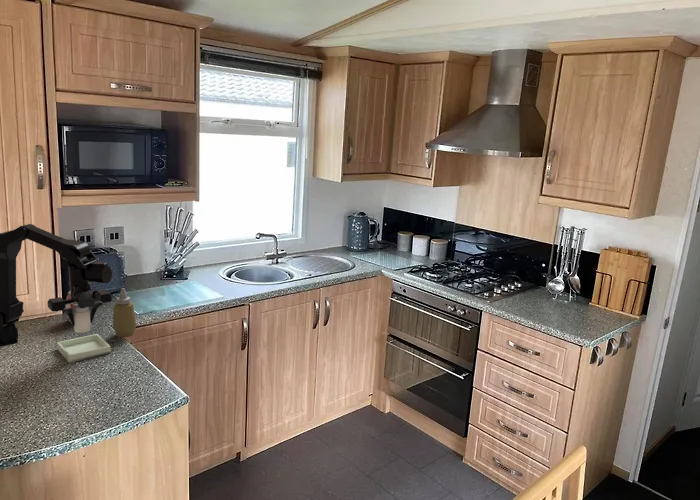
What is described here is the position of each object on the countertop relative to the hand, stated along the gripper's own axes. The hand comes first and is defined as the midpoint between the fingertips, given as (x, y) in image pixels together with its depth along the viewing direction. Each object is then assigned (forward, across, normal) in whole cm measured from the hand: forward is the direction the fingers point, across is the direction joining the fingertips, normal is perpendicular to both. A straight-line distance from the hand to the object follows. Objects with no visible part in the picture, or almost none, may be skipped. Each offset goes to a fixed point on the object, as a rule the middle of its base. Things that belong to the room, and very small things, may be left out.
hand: (82, 324), depth 183 cm
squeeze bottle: (+10, +16, +6) cm, 20 cm away
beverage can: (+10, +7, +29) cm, 31 cm away
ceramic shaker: (+2, 0, 0) cm, 2 cm away
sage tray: (+10, 0, 0) cm, 10 cm away
